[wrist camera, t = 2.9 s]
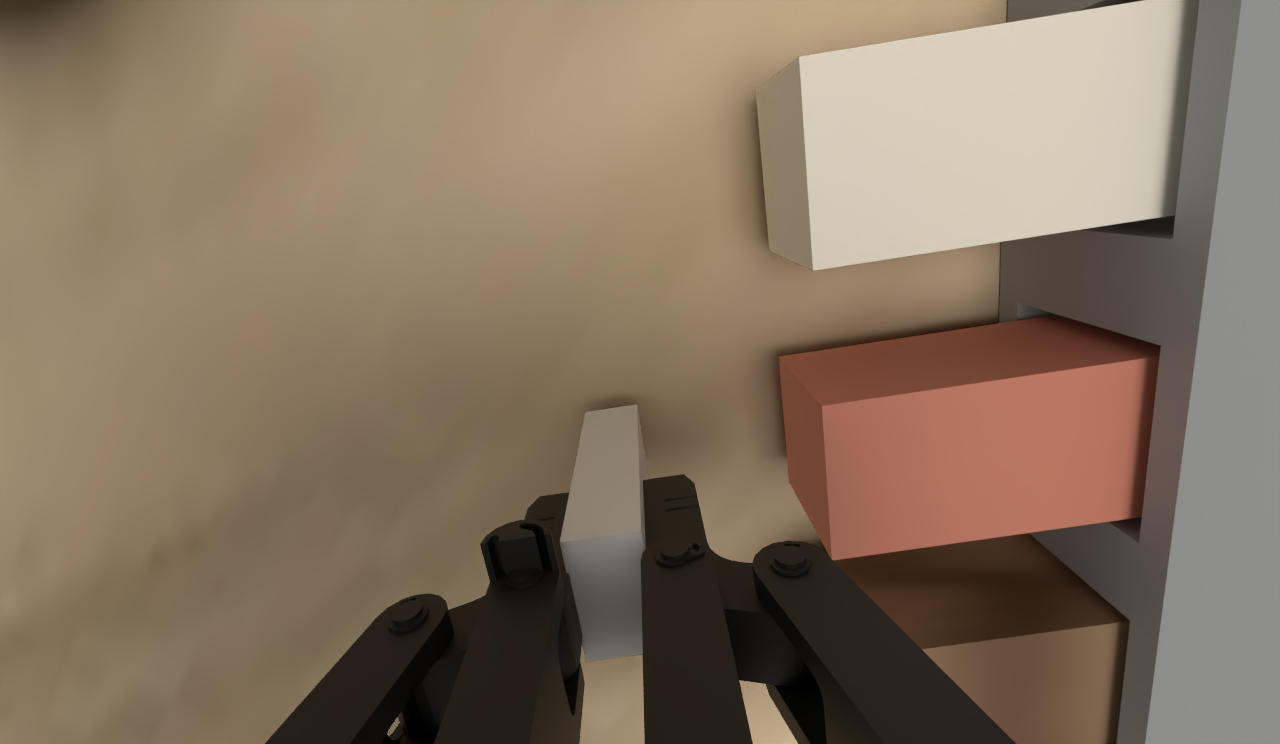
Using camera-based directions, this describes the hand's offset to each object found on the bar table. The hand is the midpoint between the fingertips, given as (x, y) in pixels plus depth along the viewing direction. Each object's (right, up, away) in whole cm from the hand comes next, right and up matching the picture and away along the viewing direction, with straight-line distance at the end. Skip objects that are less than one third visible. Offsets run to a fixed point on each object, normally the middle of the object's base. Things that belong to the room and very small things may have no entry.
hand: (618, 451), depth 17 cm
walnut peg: (+10, -5, +2) cm, 12 cm away
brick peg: (+9, +1, 0) cm, 9 cm away
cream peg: (+8, +8, -2) cm, 12 cm away
